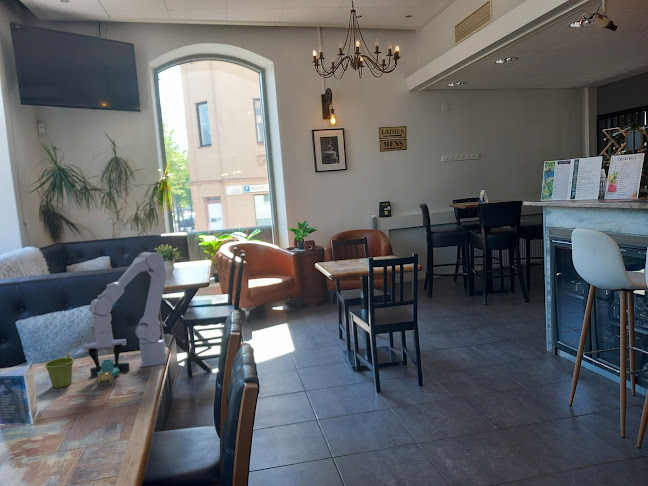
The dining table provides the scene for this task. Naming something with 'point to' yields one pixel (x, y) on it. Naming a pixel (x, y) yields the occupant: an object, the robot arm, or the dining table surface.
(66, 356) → the soldier figure
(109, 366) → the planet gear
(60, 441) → the dining table surface
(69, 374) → the plant pot
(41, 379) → the dining table surface
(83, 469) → the dining table surface
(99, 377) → the carrier
